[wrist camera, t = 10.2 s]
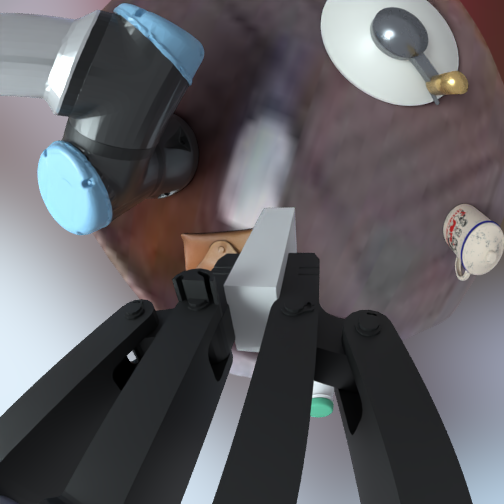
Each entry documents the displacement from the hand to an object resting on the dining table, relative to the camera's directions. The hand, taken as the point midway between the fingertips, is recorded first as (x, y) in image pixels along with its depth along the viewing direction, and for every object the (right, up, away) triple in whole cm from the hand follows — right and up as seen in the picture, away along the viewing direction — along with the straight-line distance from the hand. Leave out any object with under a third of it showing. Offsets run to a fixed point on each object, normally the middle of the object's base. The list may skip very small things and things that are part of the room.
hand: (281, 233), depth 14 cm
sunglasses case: (-6, 0, +37) cm, 37 cm away
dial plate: (+19, +30, +13) cm, 38 cm away
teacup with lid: (+35, +2, +25) cm, 43 cm away
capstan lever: (+21, +27, +12) cm, 36 cm away
